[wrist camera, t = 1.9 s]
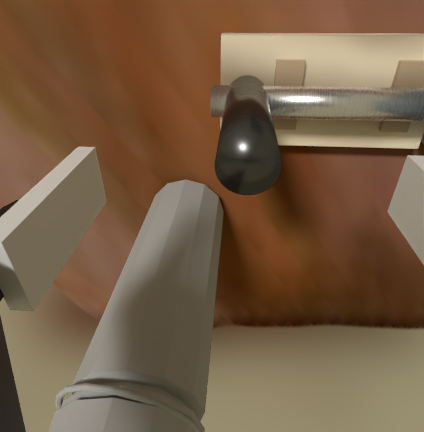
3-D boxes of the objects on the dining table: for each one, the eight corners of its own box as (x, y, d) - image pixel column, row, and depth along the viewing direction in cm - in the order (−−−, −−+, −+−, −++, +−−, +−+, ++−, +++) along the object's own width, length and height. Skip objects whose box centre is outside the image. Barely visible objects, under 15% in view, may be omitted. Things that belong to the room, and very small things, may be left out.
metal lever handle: (214, 134, 28) (195, 226, 17) (214, 41, 24) (189, 83, 13) (439, 140, 26) (575, 243, 15) (479, 43, 22) (700, 91, 11)
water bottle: (198, 159, 30) (98, 523, 9) (239, 221, 33) (230, 582, 13) (123, 200, 33) (-73, 535, 13) (167, 252, 37) (71, 579, 16)
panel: (222, 33, 24) (220, 36, 22) (449, 33, 23) (464, 36, 21) (221, 136, 28) (219, 145, 27) (410, 141, 27) (420, 151, 26)
